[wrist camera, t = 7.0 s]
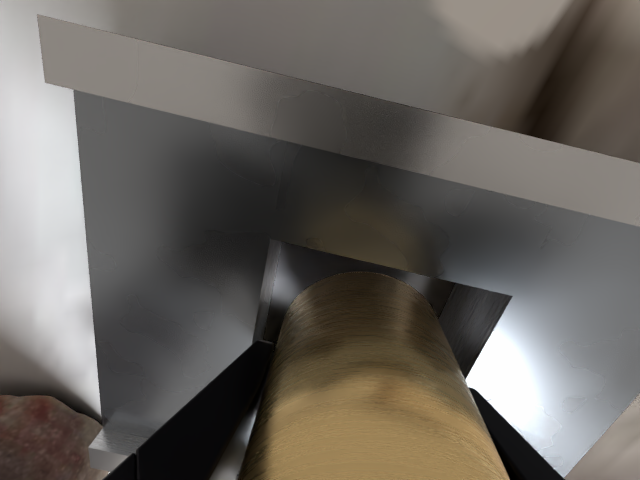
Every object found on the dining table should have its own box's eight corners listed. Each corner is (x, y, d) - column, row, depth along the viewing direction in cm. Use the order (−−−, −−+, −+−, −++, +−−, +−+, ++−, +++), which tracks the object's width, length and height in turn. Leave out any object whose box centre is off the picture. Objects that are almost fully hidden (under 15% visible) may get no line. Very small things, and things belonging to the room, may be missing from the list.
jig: (675, 179, 8) (855, 216, 5) (481, 460, 13) (520, 560, 10) (149, 49, 8) (37, 13, 5) (148, 386, 12) (90, 467, 10)
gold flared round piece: (487, 284, 8) (853, 721, 2) (417, 422, 10) (513, 831, 4) (284, 236, 8) (127, 569, 2) (255, 386, 10) (136, 757, 4)
